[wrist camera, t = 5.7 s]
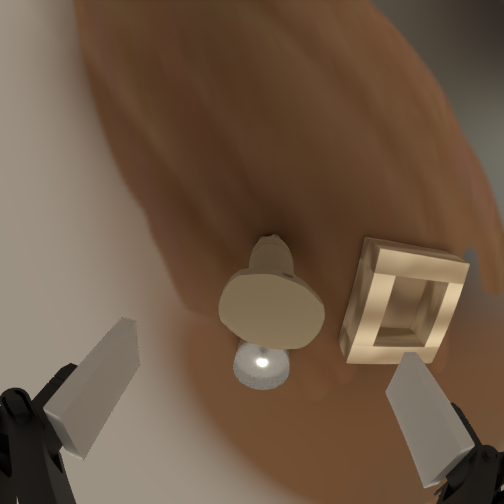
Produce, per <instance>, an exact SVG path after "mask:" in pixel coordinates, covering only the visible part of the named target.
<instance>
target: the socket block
mask: <svg viewBox="0 0 504 504" xmlns="http://www.w3.org/2000/svg"><path fill="white" fill-rule="evenodd" d="M468 268H469V263H467V262H465V261H464V260H462V259H460V258H459V257H457V256H455V255H453V254H451V253H450V252H447V251H442V250H437V249H432V248H427V247H421V246H416V245H411V244H405V243H399V242H394V241H388V240H382V239H377V238H371V237H364V242H363V246H362V251H361V255H360V260H359V264H358V268H357V272H356V276H355V280H354V284H353V288H352V292H351V296H350V299H349V303H348V307H347V310H346V314H345V317H344V320H343V324H342V327H341V330H340V334H339V337H338V342H339V345H340V347H341V350H342V353H343V356H344V359H345V362H346V363H356V364H399V363H400V361H401V358H402V356H403V354H404V352H416V353H417V354H418V356H419V357H420V358H421V360H422V361H423V363H432V361H433V359H434V357H435V355H436V353H437V350H438V348H439V346H440V344H441V342H442V339H443V337H444V335H445V332H446V330H447V328H448V325H449V323H450V320H451V318H452V315H453V313H454V310H455V307H456V305H457V302H458V299H459V296H460V293H461V290H462V287H463V284H464V281H465V278H466V275H467V272H468Z"/></svg>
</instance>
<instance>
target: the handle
mask: <svg viewBox="0 0 504 504" xmlns="http://www.w3.org/2000/svg"><path fill="white" fill-rule="evenodd" d="M218 311H219V316H220V320H221V322H222V323H223V324H225V325H226V326H227V327H228V328H229V329H230V330H231V331H232V332H233V333H235V334H236V335H237V336H238V337H240V338H241V339H243V340H245V341H247V342H250V343H252V344H255V345H258V346H261V347H265V348H269V349H277V350H282V349H297V348H302V347H304V346H306V345H307V344H309V343H310V342H311V341H312V340H313V339H314V338H315V337H316V335H317V334H318V332H319V331H320V329H321V327H322V325H323V321H324V318H325V311H324V305H323V303H322V300H321V299H320V297H319V296H318V295H317V294H316V293H315V292H314V291H313V290H312V289H311V288H310V287H309V286H308V285H307V284H306V283H305V282H304V281H303V280H302V279H300V278H299V277H297V276H295V275H294V265H293V259H292V255H291V252H290V250H289V248H288V246H287V245H286V244H285V243H284V242H283V241H282V240H281V239H280V237H279V236H278V235H275V234H273V235H272V236H267V237H264V236H262V237H261V238H259V240H258V242H257V243H256V245H255V246H254V248H253V250H252V252H251V255H250V259H249V268H247V269H241V270H239V271H238V272H236V273H235V274H234V275H233V276H232V277H231V278H230V279H229V281H228V282H227V284H226V286H225V288H224V290H223V292H222V295H221V298H220V302H219V309H218Z"/></svg>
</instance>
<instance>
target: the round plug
mask: <svg viewBox="0 0 504 504" xmlns="http://www.w3.org/2000/svg"><path fill="white" fill-rule="evenodd" d="M233 368H234V373H235V375H236V377H237V378H238V380H239V381H240V382H241V383H243V384H244V385H246V386H248V387H250V388H254V389H259V390H266V389H272V388H275V387H277V386H279V385H280V384H282V383H283V382H284V381H285V380H286V379H287V377H288V375H289V371H290V365H289V349H282V350H277V349H269V348H265V347H261V346H258V345H255V344H252V343H250V342H247V341H245V340H243V339H241V338H240V341H239V345H238V349H237V353H236V357H235V361H234V366H233Z"/></svg>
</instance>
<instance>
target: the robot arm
mask: <svg viewBox="0 0 504 504" xmlns="http://www.w3.org/2000/svg"><path fill="white" fill-rule="evenodd" d="M139 366H140V359H139V350H138V340H137V328H136V320H131V319H127V318H123V317H122V318H121V319H120V320H119V321H118V322H117V323H116V324H115V325H114V326H113V328H112V329H111V330H110V331H109V332H108V333H107V334H106V335H105V336H104V337H103V338H102V340H101V341H100V342H99V343H98V344H97V345H96V346H95V347H94V349H93V350H92V351H91V352H90V353H89V354H88V355H87V356H86V358H85V359H84V360H83V361H82V362H81V363H80V364H79V366H77V365H75V364H72V363H70V364H68V365H66V366H64V367H63V368H61V369H60V370H59V371H58V372H57V373H56V374H55V375H54V377H53V378H52V379H51V380H50V381H49V383H47V384H46V385H45V387H44V388H43V389H42V390H41V391H40V392H39V393H38V395H37V396H36V397H35V398H34V399H33V400H32V401H31V399H30V397H29V394H28V393H27V392H26V391H25V390H23V389H21V388H10V389H7V390H6V391H4V392H3V393H2V395H1V396H0V405H1V406H0V504H17V498H18V502H19V504H76V502H75V499H74V496H73V493H72V490H71V487H70V484H69V481H68V478H67V475H66V471H65V468H64V464H63V461H62V457H61V454H60V452H59V450H60V449H61V447H62V445H63V447H64V448H65V450H66V452H67V453H69V454H70V455H72V456H74V457H76V458H79V459H81V460H83V461H84V459H85V457H86V456H87V454H88V452H89V450H90V449H91V447H92V445H93V443H94V441H95V440H96V438H97V436H98V434H99V433H100V431H101V429H102V428H103V426H104V424H105V423H106V421H107V419H108V417H109V416H110V414H111V412H112V411H113V409H114V407H115V406H116V404H117V402H118V401H119V399H120V397H121V395H122V394H123V392H124V391H125V389H126V387H127V386H128V384H129V382H130V381H131V379H132V378H133V376H134V374H135V372H136V371H137V369H138V367H139ZM386 395H387V397H388V399H389V402H390V404H391V406H392V408H393V411H394V413H395V415H396V418H397V420H398V422H399V425H400V427H401V430H402V432H403V434H404V437H405V439H406V442H407V444H408V447H409V449H410V452H411V454H412V457H413V459H414V462H415V465H416V467H417V470H418V473H419V475H420V478H421V481H422V484H423V486H424V488H426V487H430V486H433V485H436V484H438V483H439V482H440V481H441V480H443V479H444V478H445V477H446V478H447V480H448V481H447V482H446V483H445V484H444V485H443V486H442V487H440V488H439V489H438V490H437V491H436V492H435V494H434V495H437V494H438V493H439V492H440V491H441V490H442V491H441V494H440V495H439V499H438V501H437V504H504V490H503V491H501V486H502V485H503V484H504V452H498V451H497V450H496V449H495V448H494V447H492V446H490V445H482V444H481V442H480V440H479V438H478V437H477V435H476V433H475V432H474V430H473V428H472V427H471V425H470V424H469V422H468V420H467V419H466V418H465V415H464V414H463V412H462V411H461V409H460V408H459V407H458V406H456V405H455V404H454V403H450V402H449V400H448V399H447V397H446V396H445V394H444V393H443V391H442V390H441V388H440V387H439V385H438V383H437V382H436V380H435V379H434V377H433V376H432V374H431V373H430V371H429V370H428V369H427V367H426V366H425V364H424V363H423V361H422V360H421V358H420V357H419V356H418V354H417V353H416V352H404V354H403V356H402V358H401V361H400V363H399V365H398V368H397V370H396V372H395V374H394V376H393V378H392V380H391V382H390V384H389V386H388V388H387V390H386Z"/></svg>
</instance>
